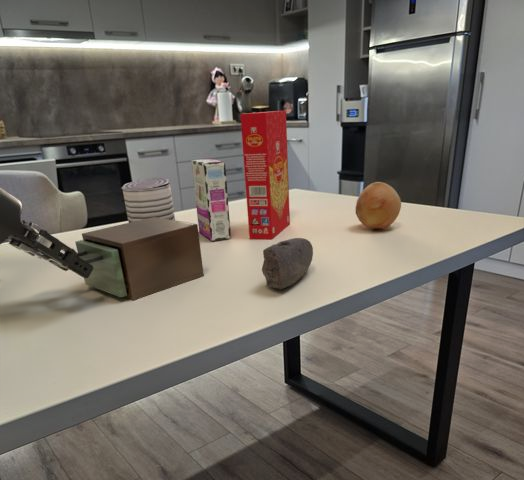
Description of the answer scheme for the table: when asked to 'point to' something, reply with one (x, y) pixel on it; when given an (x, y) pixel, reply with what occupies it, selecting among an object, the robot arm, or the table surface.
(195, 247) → the cabinet
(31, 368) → the table surface
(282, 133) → the food packaging
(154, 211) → the can
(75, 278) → the table surface
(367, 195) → the onion
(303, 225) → the table surface
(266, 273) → the perforated stone tool
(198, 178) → the candy bar box
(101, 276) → the drawer
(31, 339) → the table surface
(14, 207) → the robot arm
